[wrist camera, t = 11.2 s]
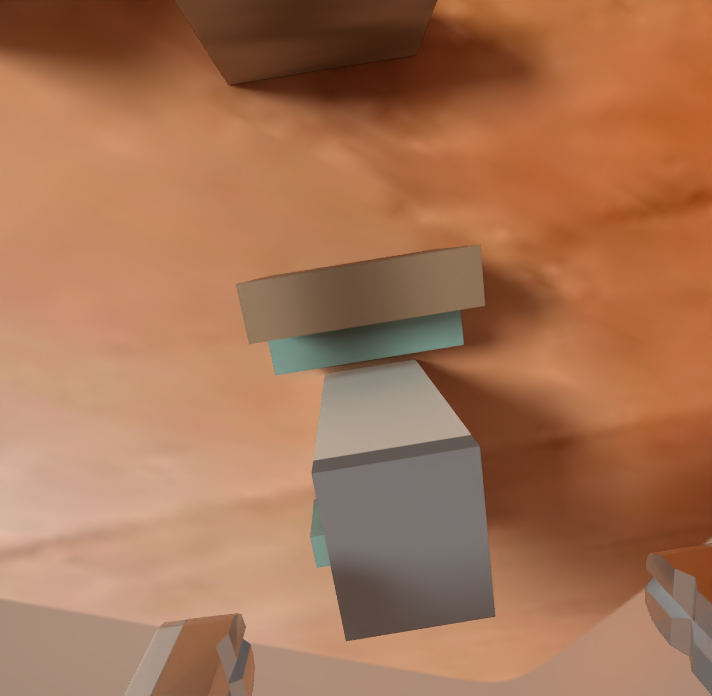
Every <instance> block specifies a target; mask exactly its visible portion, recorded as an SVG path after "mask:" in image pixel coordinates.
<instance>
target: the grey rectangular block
mask: <svg viewBox="0 0 712 696" xmlns="http://www.w3.org/2000/svg"><path fill="white" fill-rule="evenodd" d="M312 478H313V483H314V487H315V492H316V497H317V502H318V507H319V512H320V517H321V521H322V526H323V531H324V536H325V541H326V546H327V551H328V556H329V560H330V565H331V570H332V575H333V580H334V585H335V590H336V595H337V599H338V604H339V609H340V614H341V619H342V624H343V629H344V634H345V638H346V641H350V640H356V639H363V638H369V637H375V636H381V635H387V634H393V633H399V632H405V631H411V630H417V629H423V628H429V627H435V626H441V625H447V624H453V623H459V622H465V621H471V620H477V619H483V618H489V617H495V608H494V597H493V586H492V575H491V564H490V552H489V541H488V530H487V519H486V508H485V497H484V485H483V474H482V463H481V452H480V446H479V444H478V443H477V442H476V440H475V439H474V438H473V436H472V435H471V434H470V432H469V431H468V429H467V428H466V427H465V425H464V424H463V423H462V421H461V420H460V419H459V417H458V416H457V415H456V413H455V412H454V411H453V409H452V408H451V407H450V405H449V404H448V403H447V401H446V400H445V399H444V397H443V396H442V395H441V393H440V392H439V391H438V389H437V388H436V387H435V385H434V384H433V383H432V381H431V380H430V379H429V377H428V376H427V375H426V373H425V372H424V371H423V369H422V368H421V367H420V365H419V364H418V363H417V361H416V360H415V359H414V360H408V361H401V362H395V363H389V364H383V365H377V366H371V367H365V368H358V369H352V370H346V371H340V372H334V373H328V374H325V376H324V384H323V392H322V399H321V407H320V414H319V422H318V430H317V437H316V445H315V452H314V460H313V468H312Z"/></svg>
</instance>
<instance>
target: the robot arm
mask: <svg viewBox="0 0 712 696" xmlns="http://www.w3.org/2000/svg"><path fill="white" fill-rule="evenodd" d="M646 570H647V571H648V572H649V573H650V574H651V575H652V576H653V578H652V580H651V581H650V582H649V584H648V585H647V586H646V588H645V602H646V605H647V608H648V610H649V613H650V616H651V618H652V620H653V622H654V624H655V625H656V627H657V629H658V630H659V632H660V633H661V634H662V635H663V636H664V638H665V639H666V640H667V642H668V643H669V644H670V645H671V646H673V647H674V648H676V649H678V650H679V651H681V652H682V653H684V654H686V655H688V656H689V657H690V664H691V671H692V672H693V673H694V674H695V676H696V677H697V678H698V679H699V681H700V682H701V683H702V684H703V685H704V687H705V688H706V689H707V690H708V691H709V693H710V694H711V695H712V543H710V544H703V545H696V546H689V547H683V548H677V549H670V550H664V551H658V552H651V553H650V554H649V555H648V557H647V558H646ZM245 628H246V626H245V623H244V620H243V617H242V614H237V613H236V614H228V615H219V616H210V617H202V618H193V619H188V620H180V621H172V622H165V623H164V624H163V625H162V626H161V627H160V628H159V629H158V630H157V631H156V633H155V635H154V637H153V639H152V641H151V643H150V645H149V647H148V649H147V651H146V653H145V655H144V657H143V659H142V661H141V663H140V665H139V666H138V668H137V670H136V672H135V675H134V676H133V678H132V680H131V682H130V684H129V686H128V688H127V690H126V692H125V694H124V696H252V691H253V686H254V685H253V684H254V669H255V667H254V656H253V651H252V648H251V645H250V644H249V643H248V642H247V641H245V640H244V639H243V636H244V632H245Z"/></svg>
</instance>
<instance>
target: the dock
mask: <svg viewBox="0 0 712 696" xmlns="http://www.w3.org/2000/svg"><path fill="white" fill-rule="evenodd" d="M174 1H175V3H176V4H177V6H178V7H179V9H180V10H181V12H182V13H183V15H184V17H185V18H186V20H187V21H188V23H189V24H190V26H191V27H192V29H193V31H194V32H195V34H196V35H197V37H198V38H199V40H200V42H201V43H202V45H203V46H204V48H205V49H206V51H207V52H208V54H209V56H210V57H211V59H212V60H213V62H214V63H215V65H216V66H217V68H218V70H219V71H220V73H221V74H222V76H223V77H224V79H225V80H226V82H227V84H228V85H232V84H238V83H244V82H250V81H257V80H263V79H269V78H276V77H282V76H288V75H294V74H301V73H307V72H313V71H319V70H326V69H332V68H338V67H345V66H351V65H357V64H363V63H370V62H376V61H382V60H388V59H395V58H401V57H407V56H413V55H417V52H418V50H419V47H420V45H421V42H422V39H423V37H424V34H425V31H426V29H427V26H428V23H429V21H430V18H431V15H432V13H433V10H434V7H435V5H436V2H437V0H174ZM236 288H237V292H238V297H239V301H240V305H241V310H242V314H243V319H244V323H245V327H246V332H247V336H248V341H249V344H253V343H259V342H265V341H268V343H269V348H270V352H271V357H272V362H273V366H274V371H275V375H281V374H287V373H293V372H299V371H305V370H311V369H318V368H324V367H330V366H336V365H342V364H348V363H355V362H361V361H367V360H373V359H379V358H385V357H391V356H398V355H404V354H410V353H416V352H422V351H428V350H434V349H441V348H447V347H453V346H459V345H464V341H463V331H462V320H461V310H462V309H469V308H475V307H481V306H485V297H484V284H483V272H482V259H481V246H480V245H473V246H463V247H453V248H444V249H435V250H429V251H422V252H416V253H410V254H404V255H398V256H392V257H385V258H379V259H373V260H367V261H361V262H354V263H348V264H342V265H336V266H330V267H323V268H317V269H311V270H305V271H299V272H293V273H286V274H280V275H274V276H268V277H264V278H260V279H256V280H251V281H247V282H243V283H239V284H236ZM310 538H311V543H312V547H313V552H314V557H315V561H316V566H317V568H318V567H324V566H331V565H330V560H329V556H328V551H327V546H326V541H325V536H324V531H323V526H322V521H321V517H320V512H319V507H318V502H317V499H316V500H314V508H313V517H312V526H311V536H310Z"/></svg>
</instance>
